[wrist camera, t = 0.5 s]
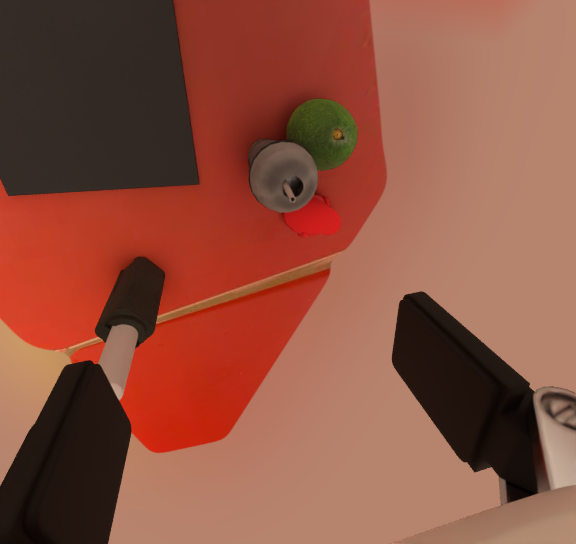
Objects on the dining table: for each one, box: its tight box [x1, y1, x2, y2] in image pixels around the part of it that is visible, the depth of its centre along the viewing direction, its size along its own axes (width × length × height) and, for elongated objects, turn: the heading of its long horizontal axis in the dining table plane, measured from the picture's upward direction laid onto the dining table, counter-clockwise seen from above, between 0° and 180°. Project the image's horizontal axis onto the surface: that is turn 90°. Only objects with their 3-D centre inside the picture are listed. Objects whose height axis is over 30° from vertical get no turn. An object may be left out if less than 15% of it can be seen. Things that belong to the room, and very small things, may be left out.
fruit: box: [286, 99, 357, 171], centre depth 37 cm, size 8×8×12 cm
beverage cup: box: [248, 139, 318, 212], centre depth 34 cm, size 7×7×20 cm
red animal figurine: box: [283, 195, 341, 237], centre depth 45 cm, size 8×6×6 cm
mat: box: [0, 0, 199, 196], centre depth 34 cm, size 22×22×1 cm
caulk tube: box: [95, 257, 165, 400], centre depth 36 cm, size 5×5×25 cm
